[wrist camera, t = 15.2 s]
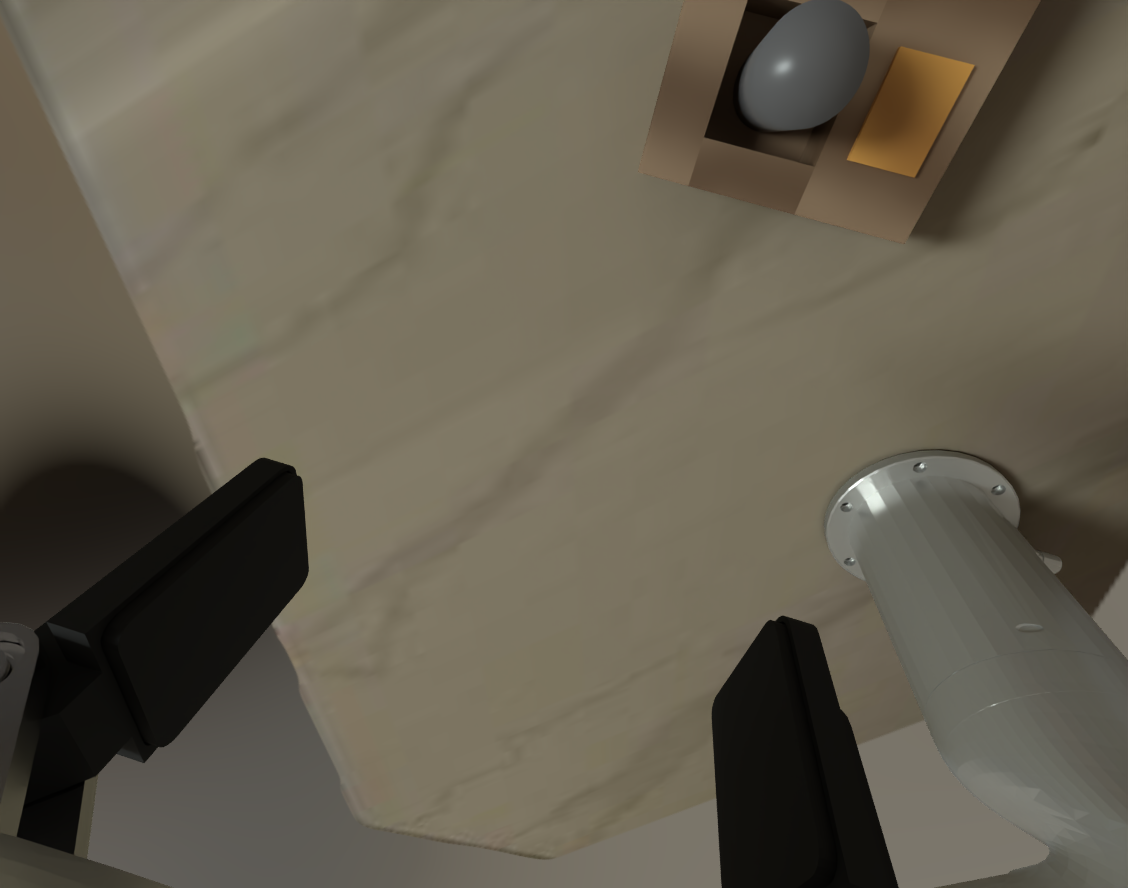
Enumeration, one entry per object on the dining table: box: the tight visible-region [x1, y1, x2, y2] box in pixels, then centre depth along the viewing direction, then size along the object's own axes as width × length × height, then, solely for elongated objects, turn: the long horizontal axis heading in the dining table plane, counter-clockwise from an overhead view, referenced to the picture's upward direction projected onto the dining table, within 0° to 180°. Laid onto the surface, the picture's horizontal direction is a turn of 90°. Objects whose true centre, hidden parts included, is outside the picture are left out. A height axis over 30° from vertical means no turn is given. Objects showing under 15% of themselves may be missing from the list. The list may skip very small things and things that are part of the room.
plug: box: [733, 0, 870, 132], centre depth 23 cm, size 4×4×9 cm
